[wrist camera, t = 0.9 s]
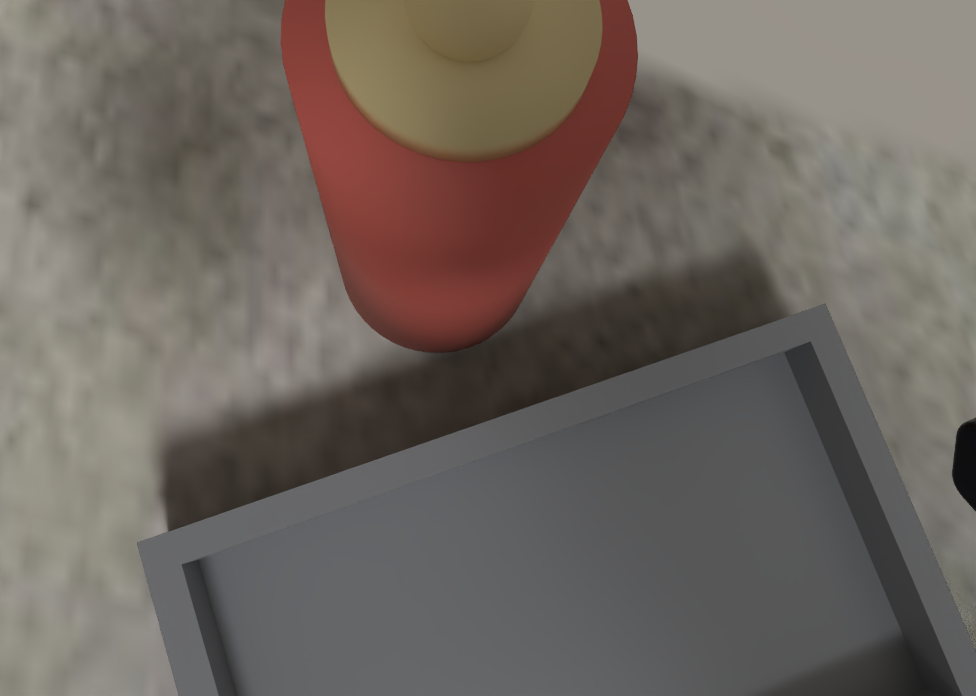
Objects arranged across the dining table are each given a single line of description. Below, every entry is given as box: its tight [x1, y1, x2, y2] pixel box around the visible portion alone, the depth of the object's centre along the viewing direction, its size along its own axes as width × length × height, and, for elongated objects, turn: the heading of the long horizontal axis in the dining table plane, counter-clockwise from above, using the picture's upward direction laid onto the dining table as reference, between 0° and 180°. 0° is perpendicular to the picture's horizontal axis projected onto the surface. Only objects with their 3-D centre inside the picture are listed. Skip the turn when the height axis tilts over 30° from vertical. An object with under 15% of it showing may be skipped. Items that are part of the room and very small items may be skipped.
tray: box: [137, 304, 976, 696], centre depth 20 cm, size 11×18×2 cm, turn 110°
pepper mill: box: [281, 0, 638, 353], centre depth 16 cm, size 5×5×13 cm
